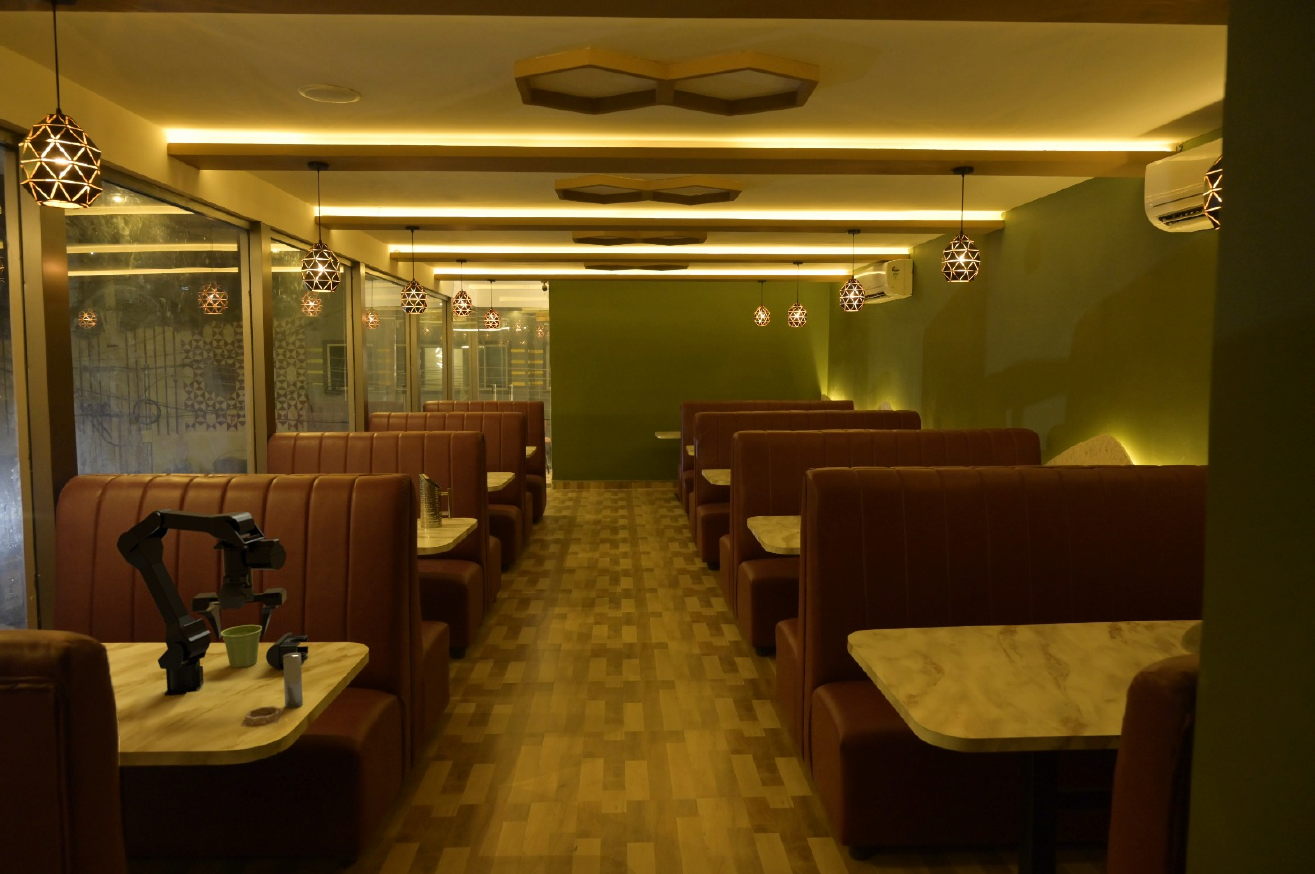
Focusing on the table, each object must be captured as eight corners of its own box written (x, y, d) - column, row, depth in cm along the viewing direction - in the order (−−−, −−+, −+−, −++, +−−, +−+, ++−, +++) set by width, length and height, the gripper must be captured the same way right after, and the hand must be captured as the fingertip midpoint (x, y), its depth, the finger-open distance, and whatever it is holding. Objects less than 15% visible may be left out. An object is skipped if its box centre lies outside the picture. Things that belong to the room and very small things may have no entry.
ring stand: (241, 730, 167) (241, 720, 167) (249, 718, 173) (248, 707, 173) (277, 727, 168) (277, 716, 168) (284, 714, 175) (283, 704, 175)
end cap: (280, 658, 211) (279, 632, 210) (309, 656, 212) (308, 631, 211) (266, 672, 201) (265, 644, 200) (296, 670, 202) (295, 643, 201)
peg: (285, 714, 175) (283, 659, 174) (284, 708, 178) (282, 654, 177) (303, 711, 177) (301, 656, 176) (302, 705, 180) (300, 651, 179)
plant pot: (214, 666, 205) (212, 632, 204) (250, 655, 213) (248, 622, 212) (236, 673, 200) (234, 638, 199) (272, 661, 208) (270, 627, 207)
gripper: (180, 579, 175) (184, 651, 176) (275, 573, 180) (278, 643, 181) (196, 568, 186) (200, 636, 187) (285, 562, 190) (288, 629, 192)
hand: (241, 636), depth 186 cm, fingers open, 9 cm apart
